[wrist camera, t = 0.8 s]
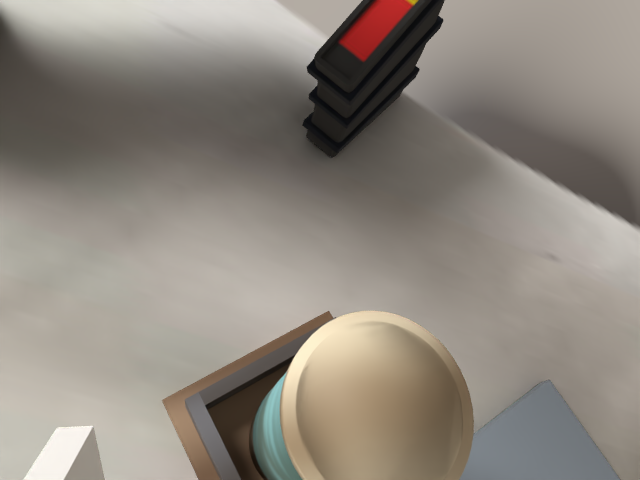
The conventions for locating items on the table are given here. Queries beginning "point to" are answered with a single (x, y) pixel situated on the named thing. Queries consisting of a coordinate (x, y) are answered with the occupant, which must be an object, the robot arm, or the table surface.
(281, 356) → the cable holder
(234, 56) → the table surface
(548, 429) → the rubber mat
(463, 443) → the disc
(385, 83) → the magazine
